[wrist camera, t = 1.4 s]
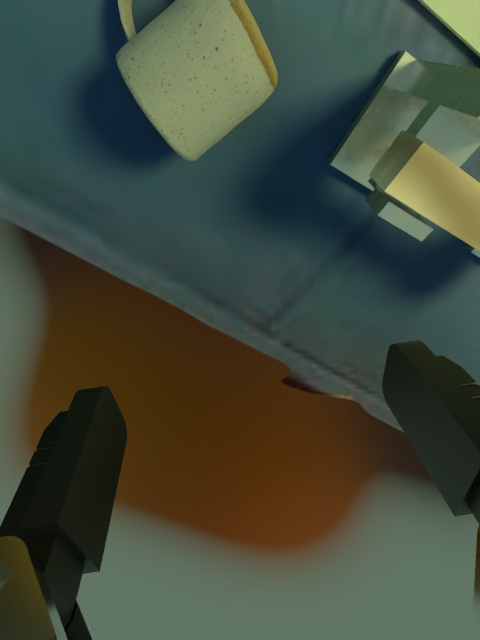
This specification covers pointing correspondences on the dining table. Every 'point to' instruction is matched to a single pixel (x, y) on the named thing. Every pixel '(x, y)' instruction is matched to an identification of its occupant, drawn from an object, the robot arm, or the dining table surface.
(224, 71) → the ceramic mug
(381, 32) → the dining table surface
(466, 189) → the birch batten
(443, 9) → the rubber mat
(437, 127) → the hook rack
